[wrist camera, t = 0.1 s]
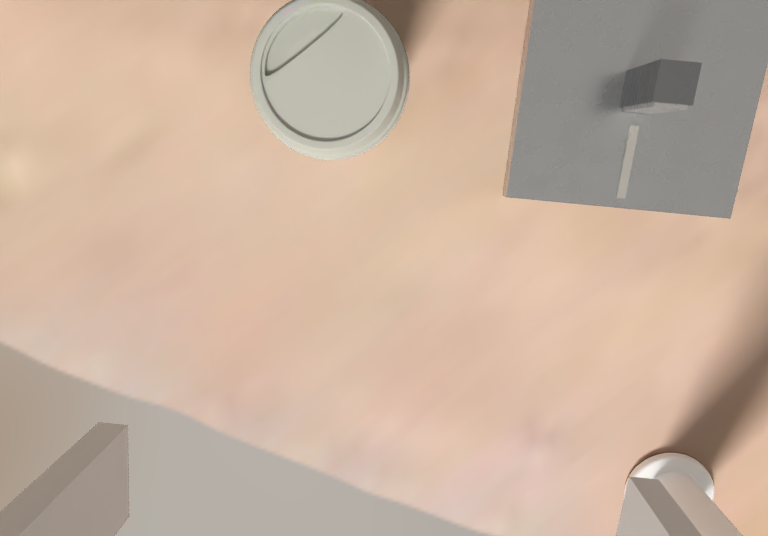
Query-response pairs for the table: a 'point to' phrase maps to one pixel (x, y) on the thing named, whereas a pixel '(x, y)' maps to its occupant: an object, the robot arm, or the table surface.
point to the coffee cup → (329, 77)
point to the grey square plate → (637, 103)
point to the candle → (688, 491)
